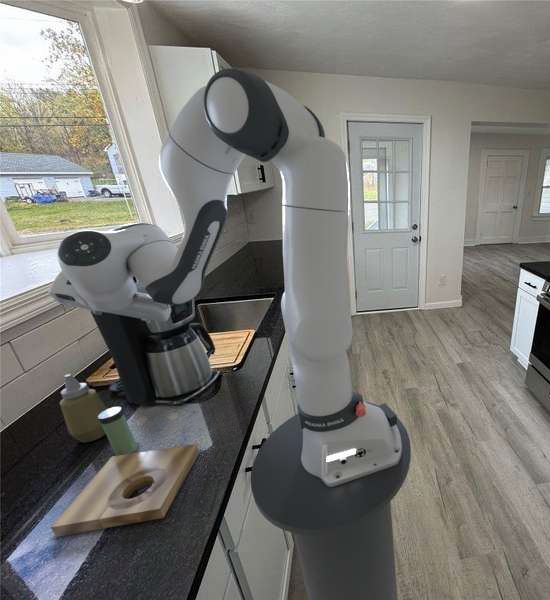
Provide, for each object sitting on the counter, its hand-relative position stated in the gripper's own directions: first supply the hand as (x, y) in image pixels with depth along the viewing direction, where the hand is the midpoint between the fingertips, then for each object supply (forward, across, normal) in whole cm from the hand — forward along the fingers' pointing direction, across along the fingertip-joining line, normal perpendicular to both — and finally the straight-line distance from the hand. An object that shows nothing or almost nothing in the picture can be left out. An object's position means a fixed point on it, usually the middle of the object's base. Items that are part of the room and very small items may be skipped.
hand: (124, 315), depth 77 cm
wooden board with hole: (+1, -15, +36) cm, 40 cm away
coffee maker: (+33, -10, +7) cm, 35 cm away
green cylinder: (+13, -9, +29) cm, 33 cm away
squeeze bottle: (+22, +1, +25) cm, 34 cm away
